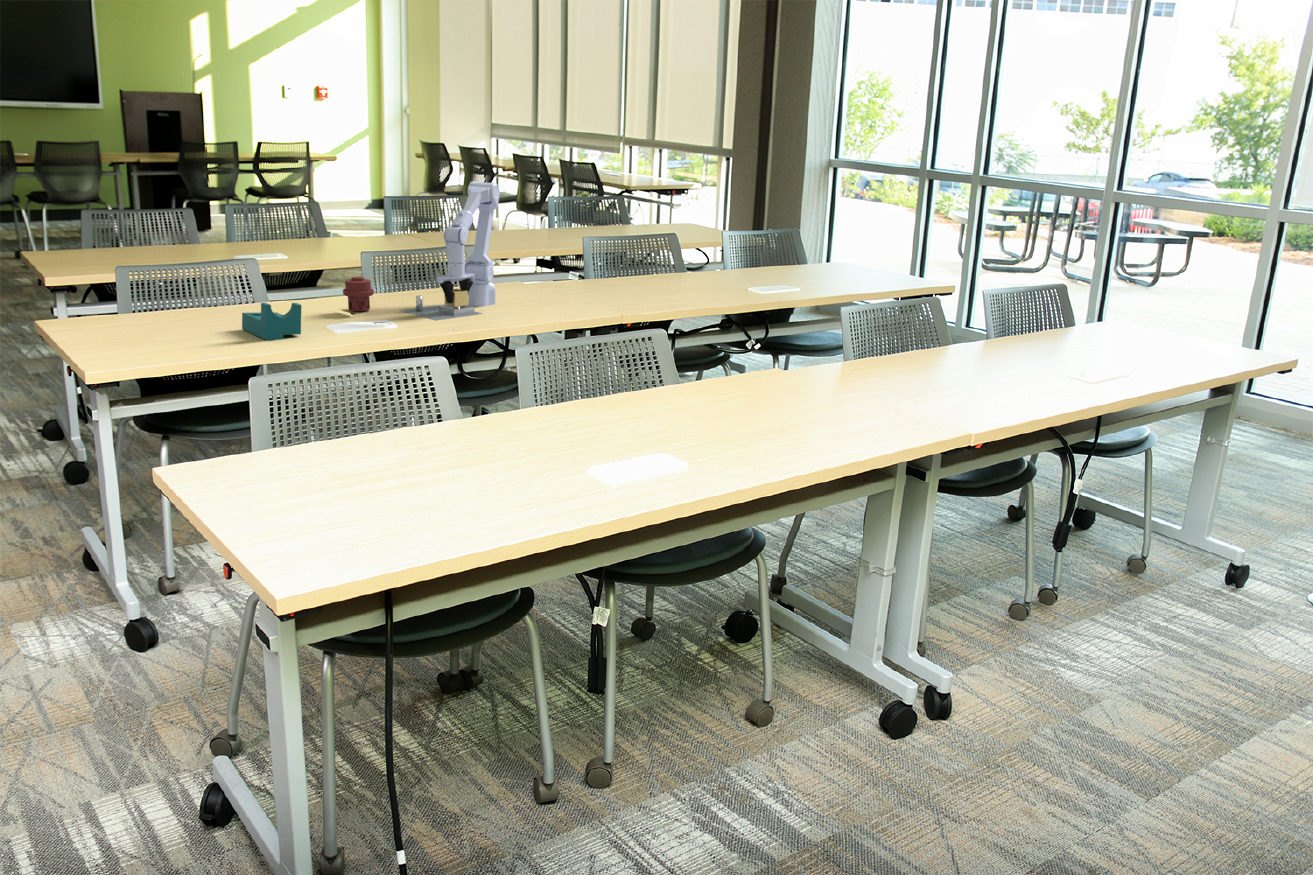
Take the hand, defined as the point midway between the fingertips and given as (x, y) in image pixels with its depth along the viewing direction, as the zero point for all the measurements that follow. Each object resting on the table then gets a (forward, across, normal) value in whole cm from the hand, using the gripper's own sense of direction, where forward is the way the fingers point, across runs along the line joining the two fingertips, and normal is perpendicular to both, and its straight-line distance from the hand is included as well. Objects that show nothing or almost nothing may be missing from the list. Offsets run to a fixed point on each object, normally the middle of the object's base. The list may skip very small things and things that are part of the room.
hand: (456, 302), depth 348 cm
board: (+5, +4, -4) cm, 7 cm away
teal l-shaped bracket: (+5, +63, -10) cm, 64 cm away
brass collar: (+1, 0, 0) cm, 1 cm away
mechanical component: (+5, +25, -21) cm, 33 cm away
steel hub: (+4, 0, 0) cm, 4 cm away
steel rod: (+4, +9, -9) cm, 13 cm away
